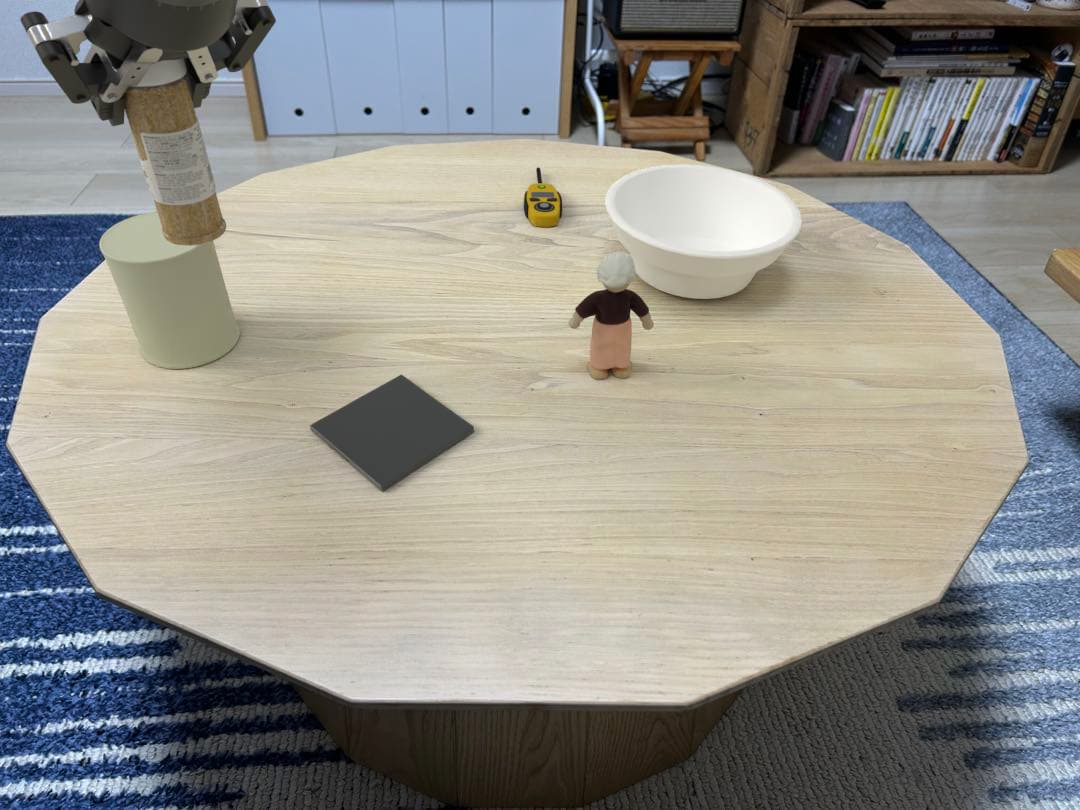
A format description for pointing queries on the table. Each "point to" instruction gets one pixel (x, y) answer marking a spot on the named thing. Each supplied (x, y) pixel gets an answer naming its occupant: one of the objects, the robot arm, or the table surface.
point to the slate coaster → (391, 431)
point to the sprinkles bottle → (174, 154)
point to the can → (170, 294)
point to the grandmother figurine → (612, 317)
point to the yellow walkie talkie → (542, 203)
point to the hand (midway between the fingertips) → (149, 103)
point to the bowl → (700, 227)
